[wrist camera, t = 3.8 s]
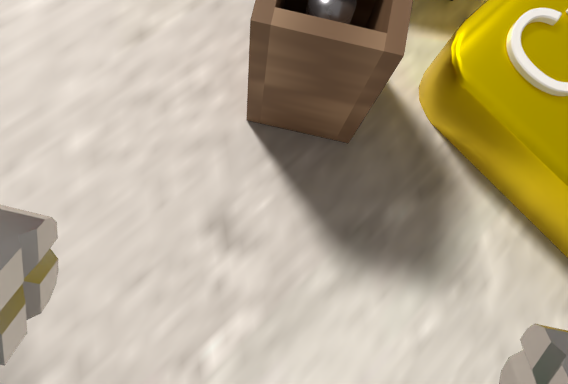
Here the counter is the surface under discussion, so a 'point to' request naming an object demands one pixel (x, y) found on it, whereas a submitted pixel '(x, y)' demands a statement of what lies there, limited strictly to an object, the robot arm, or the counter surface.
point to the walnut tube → (322, 64)
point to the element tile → (509, 104)
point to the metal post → (332, 9)
